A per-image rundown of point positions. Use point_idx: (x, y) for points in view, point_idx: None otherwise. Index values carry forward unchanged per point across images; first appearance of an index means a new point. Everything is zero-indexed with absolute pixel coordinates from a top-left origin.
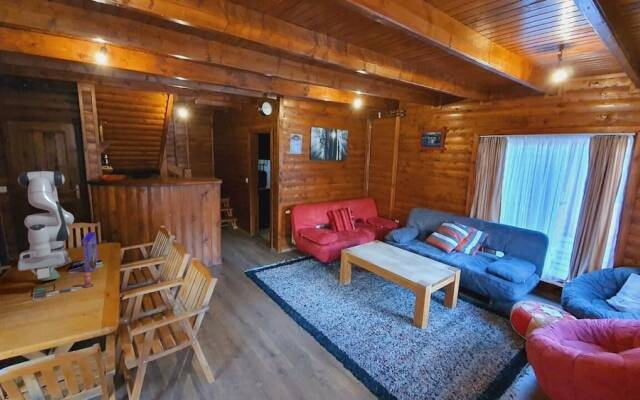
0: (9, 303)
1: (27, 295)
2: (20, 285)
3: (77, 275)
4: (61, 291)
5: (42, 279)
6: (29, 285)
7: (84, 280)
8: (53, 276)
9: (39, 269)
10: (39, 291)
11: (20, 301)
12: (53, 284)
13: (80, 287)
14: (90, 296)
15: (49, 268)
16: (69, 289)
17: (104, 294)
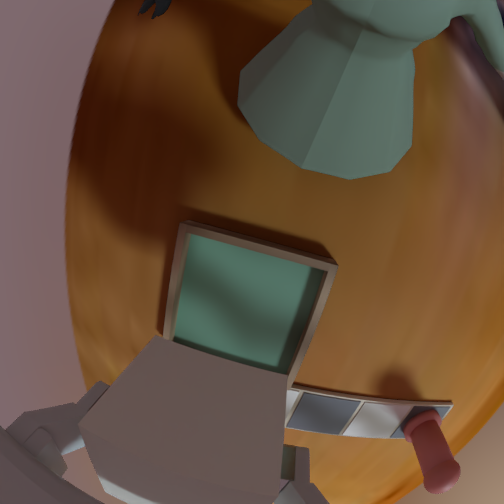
0: (81, 324)
1: (143, 292)
2: (146, 56)
3: (487, 171)
4: (306, 410)
5: (257, 127)
6: (183, 91)
7: (420, 456)
8: (356, 166)
9: (123, 487)
10: (206, 297)
11: (117, 346)
12: (315, 265)
13: (393, 421)
14: (355, 488)
15: (360, 89)
16: (347, 414)
17: (388, 491)
